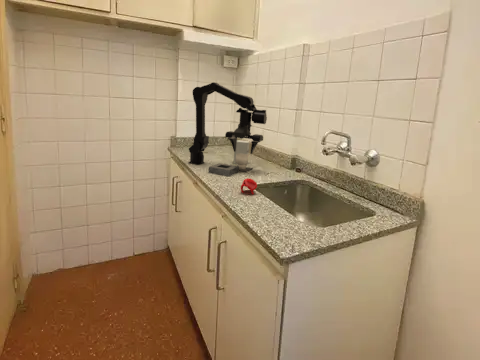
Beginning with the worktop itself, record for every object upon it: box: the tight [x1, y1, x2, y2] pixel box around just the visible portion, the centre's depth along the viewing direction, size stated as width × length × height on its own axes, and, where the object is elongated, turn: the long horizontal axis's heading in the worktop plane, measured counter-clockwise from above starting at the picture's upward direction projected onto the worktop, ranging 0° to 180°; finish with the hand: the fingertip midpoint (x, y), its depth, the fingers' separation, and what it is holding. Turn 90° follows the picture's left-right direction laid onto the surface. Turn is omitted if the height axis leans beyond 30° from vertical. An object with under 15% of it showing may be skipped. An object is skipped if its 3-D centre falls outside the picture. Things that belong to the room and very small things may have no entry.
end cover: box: [236, 153, 250, 169], centre depth 162 cm, size 6×6×7 cm
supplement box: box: [232, 139, 251, 165], centre depth 176 cm, size 7×7×13 cm
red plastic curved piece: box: [240, 178, 258, 195], centre depth 124 cm, size 8×6×6 cm
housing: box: [208, 162, 239, 177], centre depth 153 cm, size 11×11×3 cm
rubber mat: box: [238, 166, 253, 173], centre depth 163 cm, size 9×9×1 cm
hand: (242, 153), depth 160 cm, fingers open, 9 cm apart
